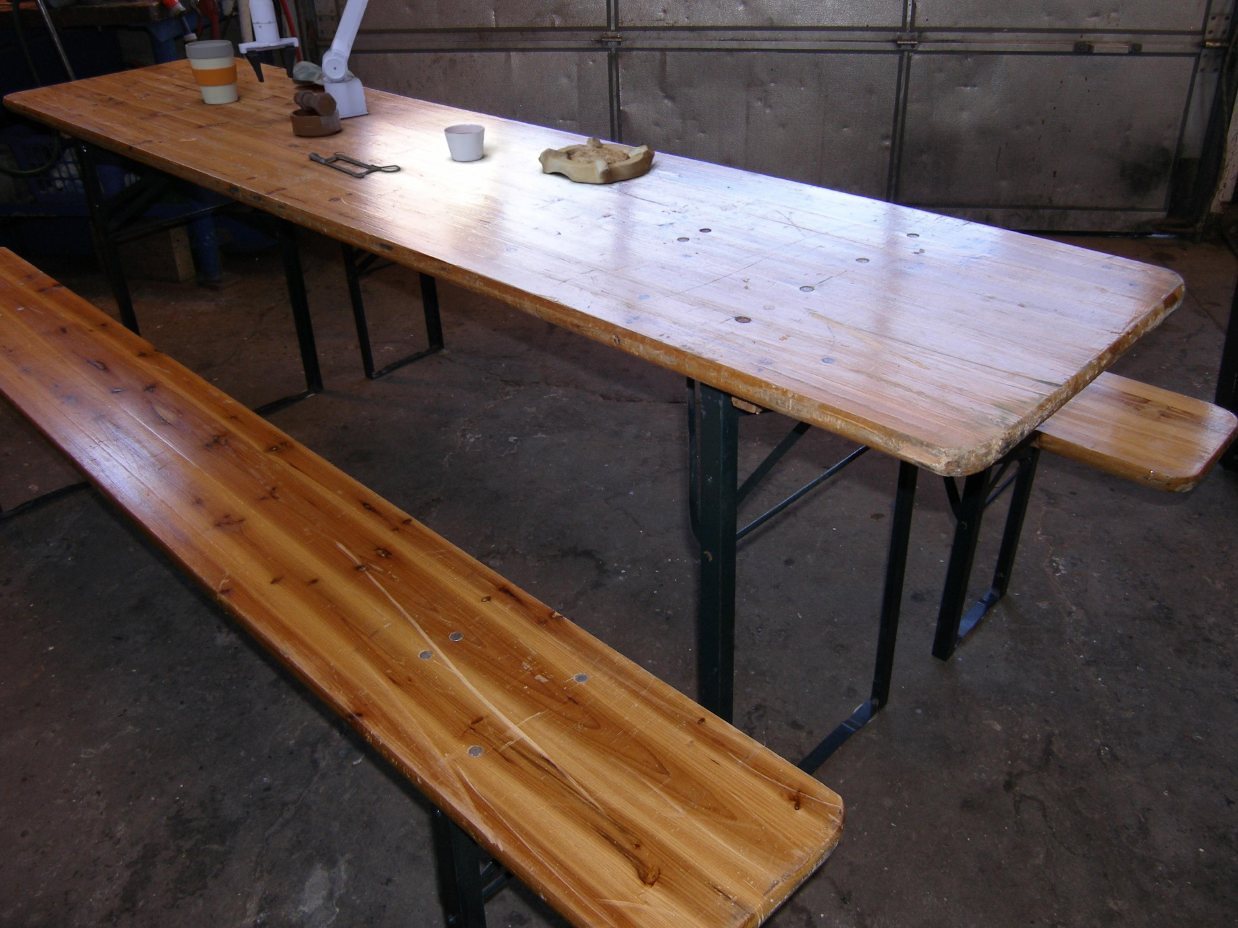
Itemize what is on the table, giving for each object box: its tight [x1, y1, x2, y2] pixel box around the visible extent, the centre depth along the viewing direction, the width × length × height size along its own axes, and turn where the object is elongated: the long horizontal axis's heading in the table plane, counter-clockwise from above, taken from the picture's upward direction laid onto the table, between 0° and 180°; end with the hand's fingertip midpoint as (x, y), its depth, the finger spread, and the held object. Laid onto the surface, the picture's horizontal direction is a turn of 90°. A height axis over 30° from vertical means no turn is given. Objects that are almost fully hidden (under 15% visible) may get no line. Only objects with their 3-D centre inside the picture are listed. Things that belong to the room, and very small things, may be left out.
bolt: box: [292, 89, 337, 117], centre depth 237 cm, size 6×5×15 cm
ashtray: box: [537, 136, 656, 184], centre depth 207 cm, size 24×24×5 cm
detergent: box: [291, 60, 356, 87], centre depth 282 cm, size 13×7×25 cm
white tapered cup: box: [443, 123, 486, 162], centre depth 217 cm, size 9×9×6 cm
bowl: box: [289, 107, 342, 138], centre depth 240 cm, size 12×12×5 cm
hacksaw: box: [308, 151, 401, 178], centre depth 215 cm, size 24×10×2 cm, turn 44°
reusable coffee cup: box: [185, 39, 239, 105], centre depth 270 cm, size 13×13×15 cm
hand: (276, 80), depth 248 cm, fingers open, 7 cm apart
